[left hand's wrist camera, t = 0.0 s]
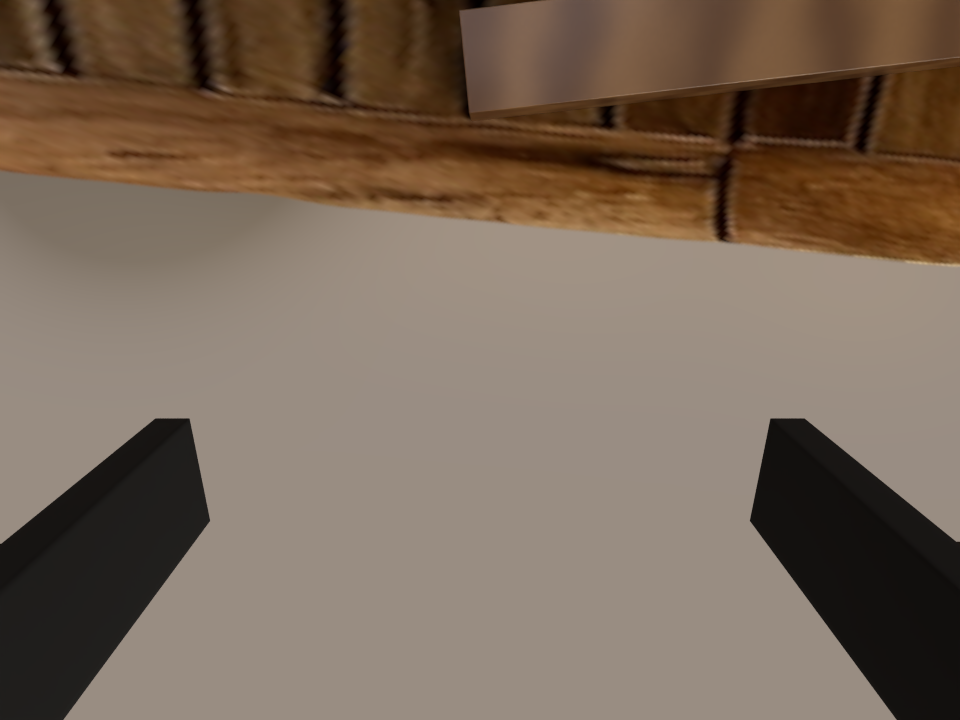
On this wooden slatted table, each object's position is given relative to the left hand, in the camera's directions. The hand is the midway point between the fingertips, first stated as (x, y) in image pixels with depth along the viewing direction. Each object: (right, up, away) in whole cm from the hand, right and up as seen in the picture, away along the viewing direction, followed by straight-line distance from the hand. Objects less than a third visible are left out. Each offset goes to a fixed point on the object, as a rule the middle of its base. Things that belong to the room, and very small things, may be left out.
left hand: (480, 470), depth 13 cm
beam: (+23, +22, +22) cm, 39 cm away
